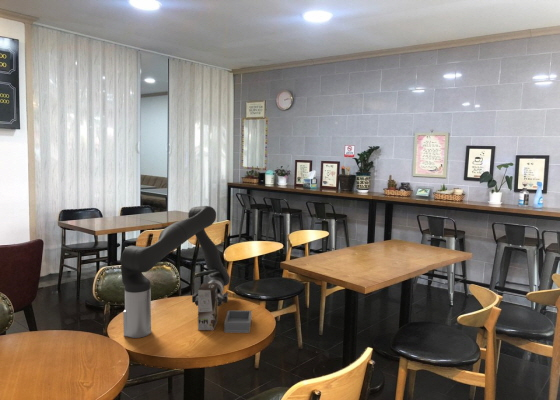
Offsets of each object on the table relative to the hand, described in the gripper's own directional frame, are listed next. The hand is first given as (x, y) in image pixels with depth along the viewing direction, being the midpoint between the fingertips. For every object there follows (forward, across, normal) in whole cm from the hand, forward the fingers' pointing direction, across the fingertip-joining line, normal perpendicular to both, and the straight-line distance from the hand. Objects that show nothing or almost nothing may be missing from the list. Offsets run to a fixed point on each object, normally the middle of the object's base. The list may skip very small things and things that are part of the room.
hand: (207, 303), depth 173 cm
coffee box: (0, 0, +9) cm, 9 cm away
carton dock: (0, +12, +9) cm, 15 cm away
